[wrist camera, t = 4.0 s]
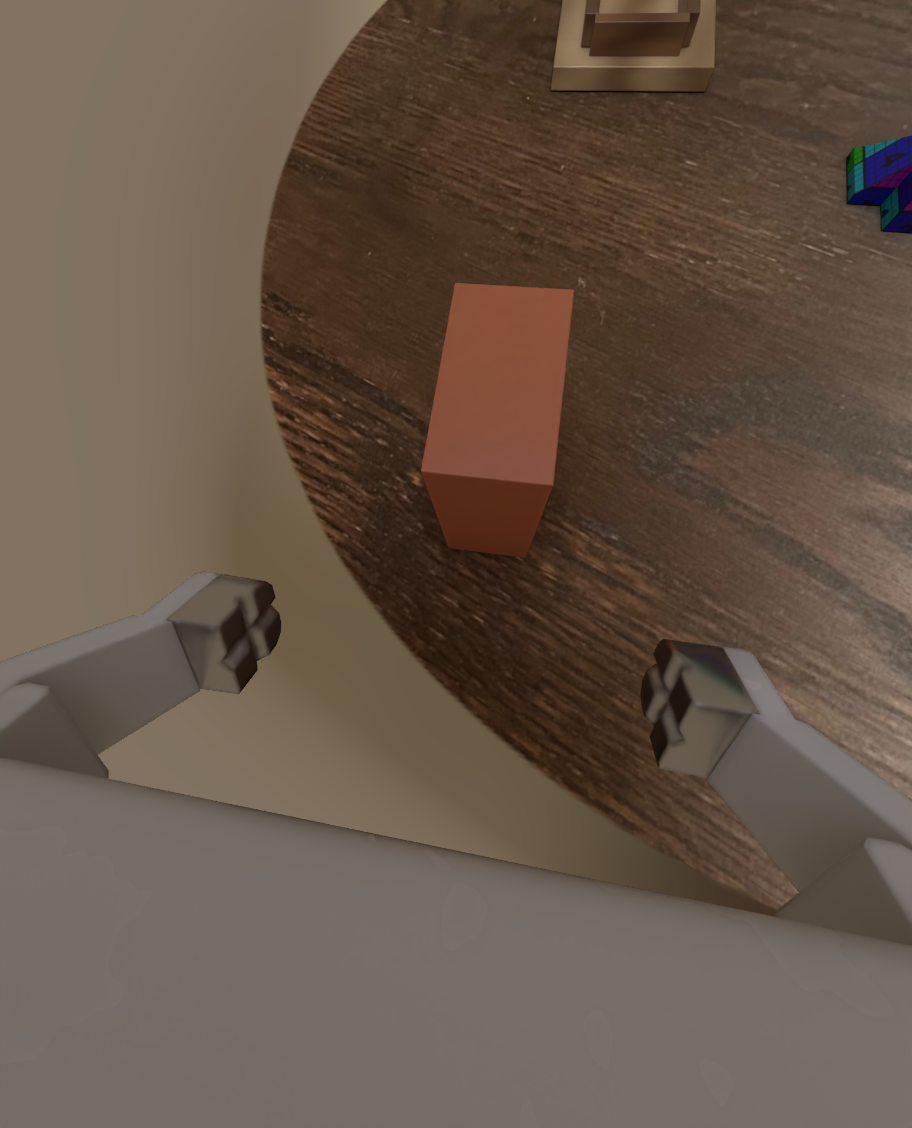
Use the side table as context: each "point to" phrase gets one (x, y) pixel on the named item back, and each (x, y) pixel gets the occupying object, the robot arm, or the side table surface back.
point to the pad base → (635, 45)
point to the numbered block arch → (883, 181)
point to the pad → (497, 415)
